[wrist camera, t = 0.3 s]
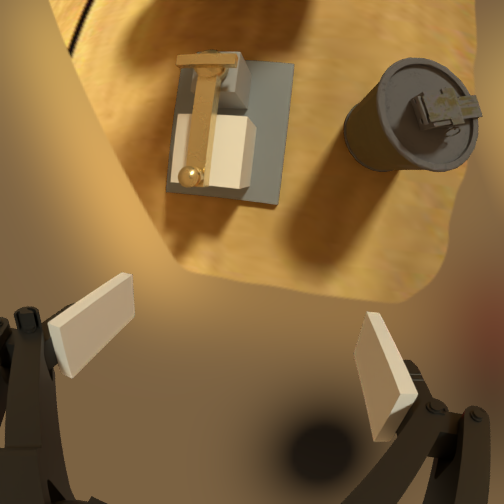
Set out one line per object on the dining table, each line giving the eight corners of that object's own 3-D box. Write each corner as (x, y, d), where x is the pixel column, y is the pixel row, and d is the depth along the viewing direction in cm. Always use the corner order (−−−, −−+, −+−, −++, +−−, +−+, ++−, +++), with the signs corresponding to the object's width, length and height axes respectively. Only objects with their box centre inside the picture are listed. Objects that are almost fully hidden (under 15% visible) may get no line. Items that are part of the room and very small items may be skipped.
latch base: (185, 62, 37) (157, 38, 27) (294, 66, 35) (293, 36, 26) (168, 191, 42) (135, 197, 33) (278, 204, 40) (273, 213, 31)
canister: (356, 179, 38) (410, 184, 19) (333, 107, 36) (365, 52, 17) (423, 163, 36) (509, 161, 17) (402, 94, 34) (472, 45, 15)
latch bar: (190, 57, 27) (177, 44, 23) (243, 57, 27) (236, 42, 23) (173, 183, 31) (157, 184, 27) (227, 188, 31) (217, 190, 27)
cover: (199, 124, 38) (177, 113, 30) (256, 127, 37) (247, 116, 30) (193, 180, 40) (170, 182, 33) (249, 186, 39) (239, 188, 32)
